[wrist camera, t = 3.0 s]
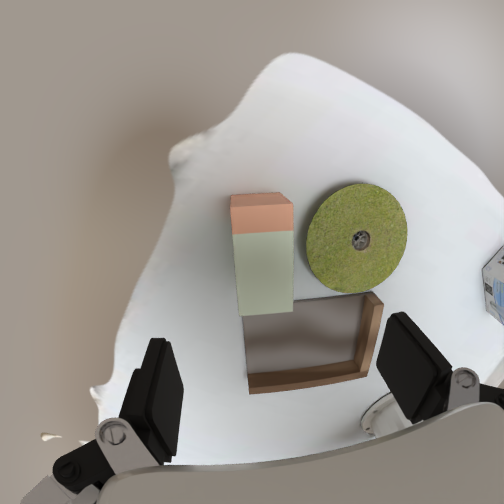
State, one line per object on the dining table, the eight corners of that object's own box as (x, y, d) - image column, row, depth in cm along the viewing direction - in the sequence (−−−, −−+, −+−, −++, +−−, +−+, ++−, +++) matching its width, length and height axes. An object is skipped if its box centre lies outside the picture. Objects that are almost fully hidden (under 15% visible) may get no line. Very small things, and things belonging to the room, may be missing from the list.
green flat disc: (355, 301, 30) (361, 310, 28) (278, 250, 27) (282, 257, 26) (414, 224, 27) (424, 229, 26) (346, 158, 25) (355, 159, 23)
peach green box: (281, 280, 29) (292, 311, 23) (237, 284, 28) (239, 316, 23) (279, 192, 25) (292, 203, 20) (230, 195, 25) (230, 207, 20)
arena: (358, 362, 34) (366, 376, 31) (247, 377, 33) (249, 394, 30) (372, 291, 30) (384, 304, 27) (241, 305, 29) (242, 320, 26)
